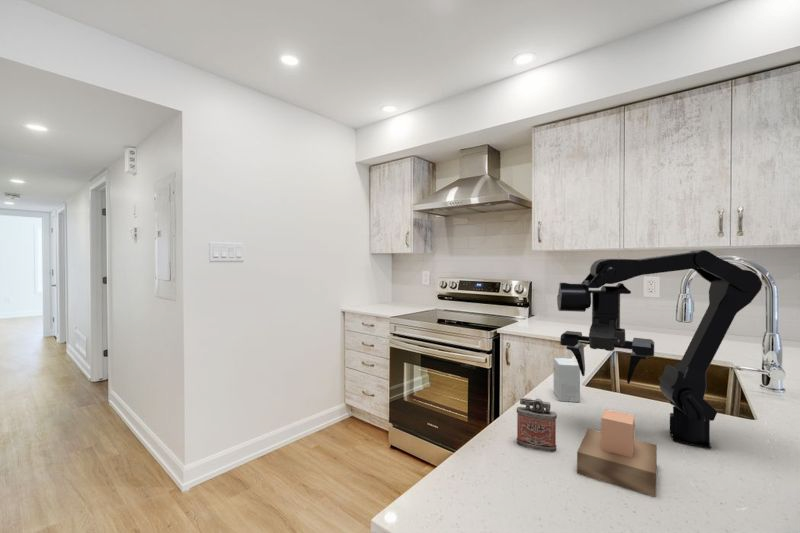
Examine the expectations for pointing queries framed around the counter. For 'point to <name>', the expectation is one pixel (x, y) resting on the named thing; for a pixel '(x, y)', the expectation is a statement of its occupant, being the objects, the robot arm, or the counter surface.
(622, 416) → the terracotta block
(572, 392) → the small box
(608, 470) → the plate
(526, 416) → the lighter
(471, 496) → the counter surface
